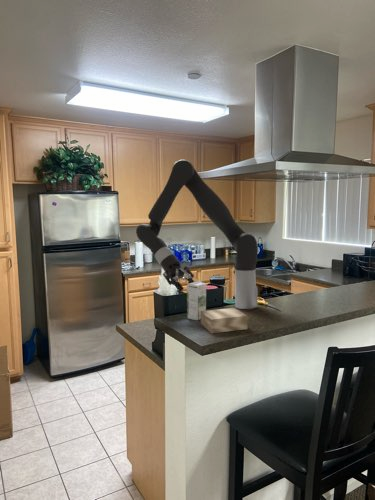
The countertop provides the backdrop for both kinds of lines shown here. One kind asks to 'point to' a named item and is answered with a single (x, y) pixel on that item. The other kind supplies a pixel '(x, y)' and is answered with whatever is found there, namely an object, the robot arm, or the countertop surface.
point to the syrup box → (196, 300)
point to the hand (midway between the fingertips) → (188, 288)
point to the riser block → (223, 320)
